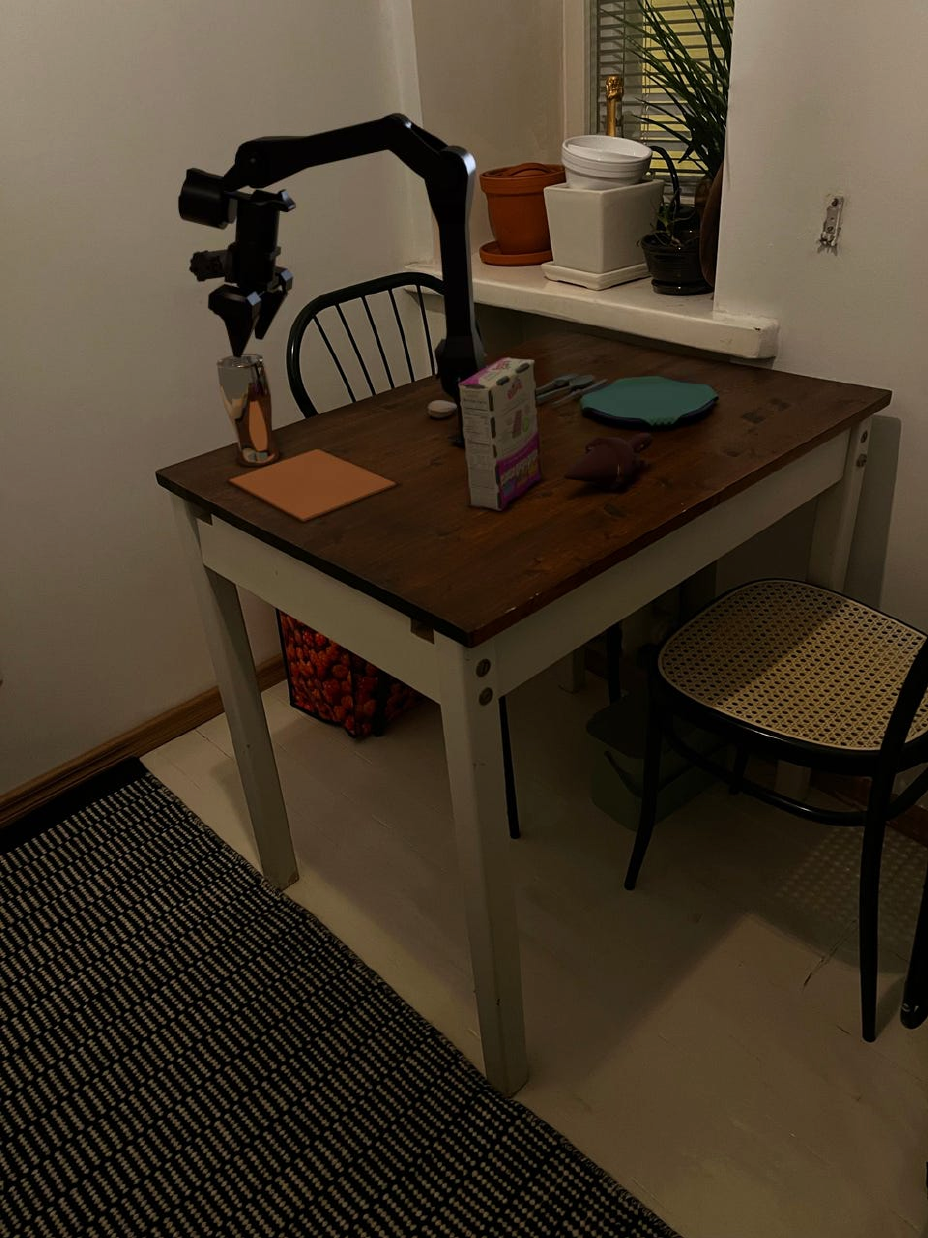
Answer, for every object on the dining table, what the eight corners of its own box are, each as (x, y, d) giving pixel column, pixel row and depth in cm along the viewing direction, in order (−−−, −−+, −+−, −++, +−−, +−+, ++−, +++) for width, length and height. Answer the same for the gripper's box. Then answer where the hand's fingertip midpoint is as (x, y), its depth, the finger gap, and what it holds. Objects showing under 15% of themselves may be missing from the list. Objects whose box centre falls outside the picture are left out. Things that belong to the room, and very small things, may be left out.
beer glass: (239, 452, 146) (218, 355, 139) (284, 448, 147) (266, 350, 139) (233, 470, 140) (211, 369, 133) (280, 464, 141) (261, 364, 133)
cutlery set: (667, 442, 136) (667, 426, 135) (509, 406, 155) (508, 392, 154) (739, 402, 148) (740, 387, 147) (584, 372, 167) (584, 359, 165)
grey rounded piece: (425, 414, 155) (424, 399, 153) (454, 409, 156) (453, 394, 154) (433, 422, 151) (432, 407, 150) (463, 416, 152) (462, 401, 151)
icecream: (590, 466, 115) (674, 441, 123) (551, 437, 119) (634, 415, 127) (577, 514, 119) (659, 487, 127) (540, 484, 123) (621, 460, 131)
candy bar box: (510, 474, 131) (502, 355, 122) (542, 479, 128) (537, 358, 120) (467, 506, 123) (456, 381, 115) (500, 512, 121) (492, 386, 112)
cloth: (396, 485, 131) (395, 482, 131) (303, 522, 123) (302, 519, 123) (317, 451, 144) (317, 448, 144) (229, 482, 137) (229, 479, 136)
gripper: (225, 212, 139) (219, 317, 148) (172, 236, 124) (169, 352, 132) (298, 230, 139) (288, 335, 148) (254, 257, 123) (246, 372, 132)
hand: (248, 347), depth 140 cm, fingers open, 9 cm apart
